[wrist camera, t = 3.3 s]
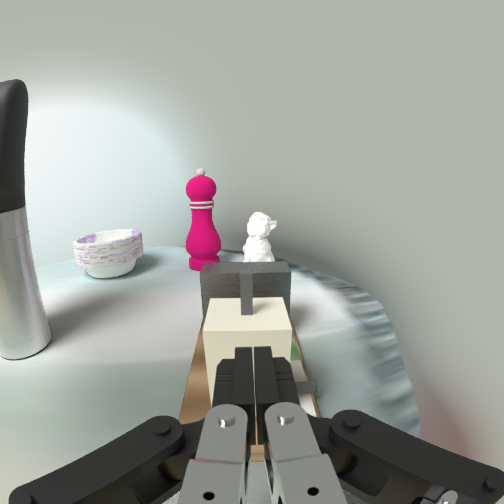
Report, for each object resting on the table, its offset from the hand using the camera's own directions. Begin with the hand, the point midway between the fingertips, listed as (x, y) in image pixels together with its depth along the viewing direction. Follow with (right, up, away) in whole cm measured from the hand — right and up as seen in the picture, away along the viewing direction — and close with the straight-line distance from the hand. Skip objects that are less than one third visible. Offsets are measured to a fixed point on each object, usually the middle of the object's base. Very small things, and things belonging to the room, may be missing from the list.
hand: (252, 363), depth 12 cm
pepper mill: (-10, +2, +49) cm, 50 cm away
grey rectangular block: (-1, -4, +24) cm, 24 cm away
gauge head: (+1, -7, +11) cm, 13 cm away
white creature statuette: (+1, 0, +43) cm, 43 cm away
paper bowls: (-30, 0, +46) cm, 54 cm away
